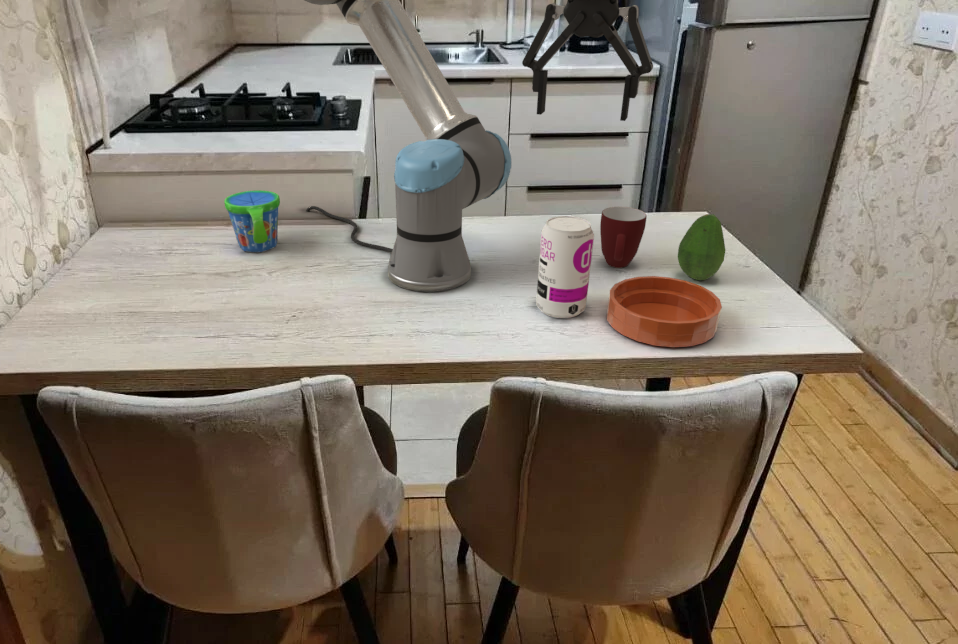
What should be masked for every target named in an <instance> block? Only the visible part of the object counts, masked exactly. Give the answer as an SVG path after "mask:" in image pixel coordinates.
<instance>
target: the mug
mask: <svg viewBox="0 0 958 644" xmlns="http://www.w3.org/2000/svg"><path fill="white" fill-rule="evenodd" d="M647 218H648V217H647V213H646V212H645V211H643V210H641V209H638V208H635V207H630V206H610V207H607V208H606V207H605V208H604V209H603V210H602V211H601V216H600V224H599V229H600V230H599V231H600V232H599V233H600V248H601V252H602V253H601V254H602V256H603V258H604V261H605V263H606V264H607V266H609V267H611V268H615V269H625V268H626V267H628V266H629V265H630V263H631V262H632V261H633V260H634V258H635V257H636V255H637V253H638V250H639V248H640V245H641V242H642V238H643V236H644V233H645V229H646V223H647Z"/></svg>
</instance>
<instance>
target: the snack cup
mask: <svg viewBox="0 0 958 644" xmlns="http://www.w3.org/2000/svg"><path fill="white" fill-rule="evenodd" d="M280 204H281V199H280V195H279V194H278V193H277V192H274V191H269V190H261V189H260V190H259V189H257V190H246V191H240V192H236V193H233V194H230V195H228V196H226V197H225V198H224V209H226V211H227V212H228V215H229V220H230V222H231V224H232V229H233V231H234V235H235V238H236V241H237V244H238V247H239V249H240V250H242V251H243V252H249V253H263V252H266V251H267V252H268V251H270V250H272V249H273V248H276V247H277V244H278V237H279V236H278V235H279V207H280Z"/></svg>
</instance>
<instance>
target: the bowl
mask: <svg viewBox="0 0 958 644" xmlns="http://www.w3.org/2000/svg"><path fill="white" fill-rule="evenodd" d="M722 309H723V306H722V303H721V299H720V298H719V297H718V296H717V295H716V294H715V293H714V292H713V291H711V290H709V289H708V288H706V287H704V286H702V285H700V284H697V283H694V282H691V281H688V280H685V279H679V278H675V277H669V276H658V275H648V276H635V277H630V278H626V279H623V280H620V281H619V282H616V283H614V285H613V286H612V287H611V288H610V289H609V294H608V302H607V309H606V321H607V322H608V323H609V325H610V326H611V328H613V329H614V330H615V331H616V332H618V333H619V334H621V335H623V336H624V337H627V338H629V339H630V340H633V341H636V342H639V343H643V344H647V345H651V346H656V347H657V346H658V347H666V348H682V347H694V346H696V345H697V346H698V345H701V344H704V343H706V342H708V341H709V340H711V339H713V338H714V336H715V335H716V333H717V331H718V327H719V322H720V319H721V314H722Z"/></svg>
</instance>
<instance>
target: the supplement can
mask: <svg viewBox="0 0 958 644" xmlns="http://www.w3.org/2000/svg"><path fill="white" fill-rule="evenodd" d="M545 221H546V222H545V224H544V226H543V227H542V229H541V233H540V246H539V259H538V272H537V285H536V297H535V304H536V308H538V309H539V311H540V312H541V313H542V314H543V315H546V316H549V317H552V318H558V319H570V318H574V317H577V316H579V315H580V314H581V313H582V312H584V311H585V310H586V307H587V300H588V291H589V283H590V273H591V266H592V265H591V264H592V258H593V257H592V256H593V248H594V238H595V233H594V230H593V229H592V223H591V222H590V221H589V220H587V219H585V218H583V217H578V216H572V215H560V216H559V215H558V216H553V217H550V218H548V219H547V220H545Z"/></svg>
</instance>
